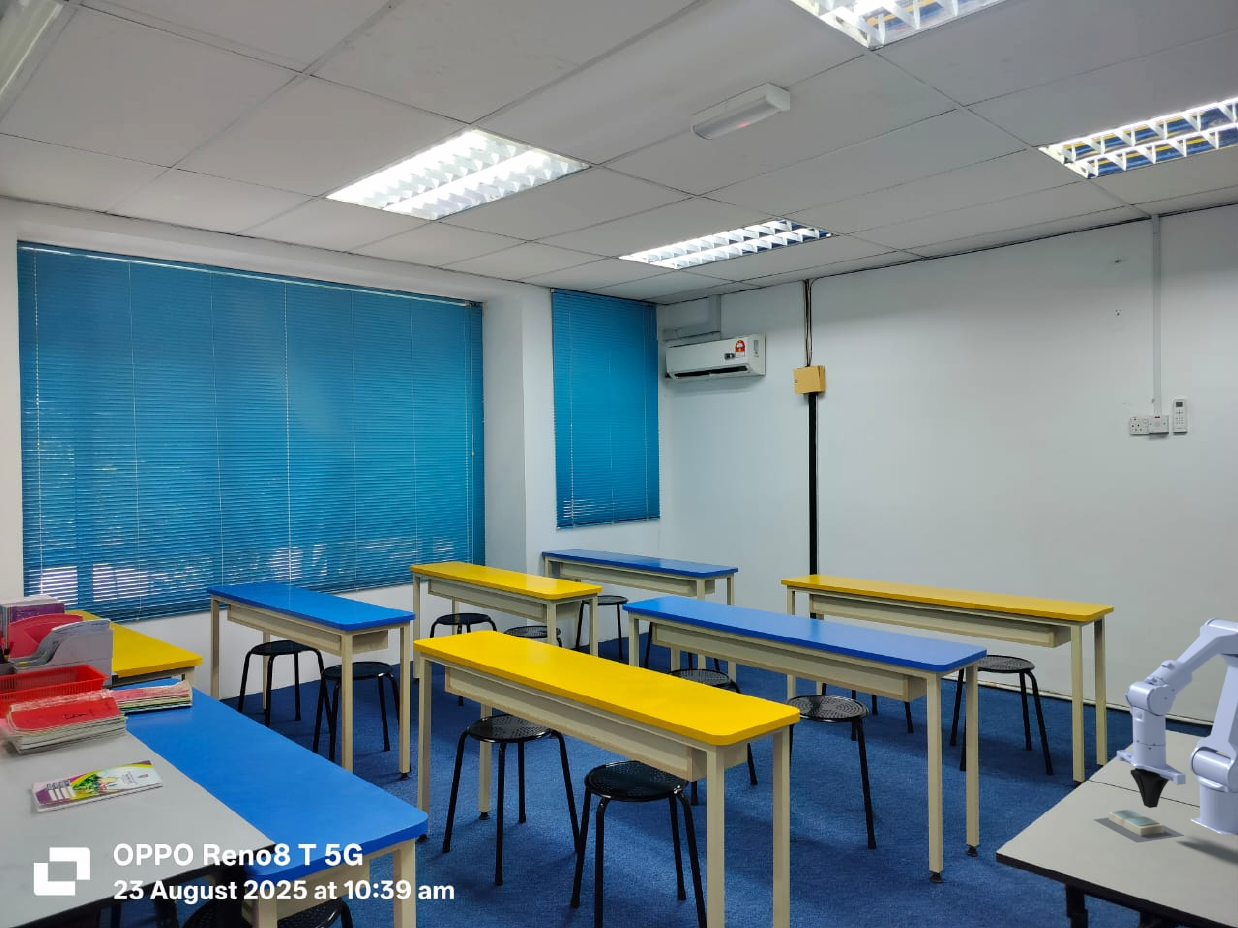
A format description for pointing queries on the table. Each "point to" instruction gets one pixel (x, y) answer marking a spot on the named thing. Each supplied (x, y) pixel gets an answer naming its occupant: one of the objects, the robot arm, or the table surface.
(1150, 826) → the birch framed mirror
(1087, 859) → the table surface
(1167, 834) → the rubber mat
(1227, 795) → the robot arm
